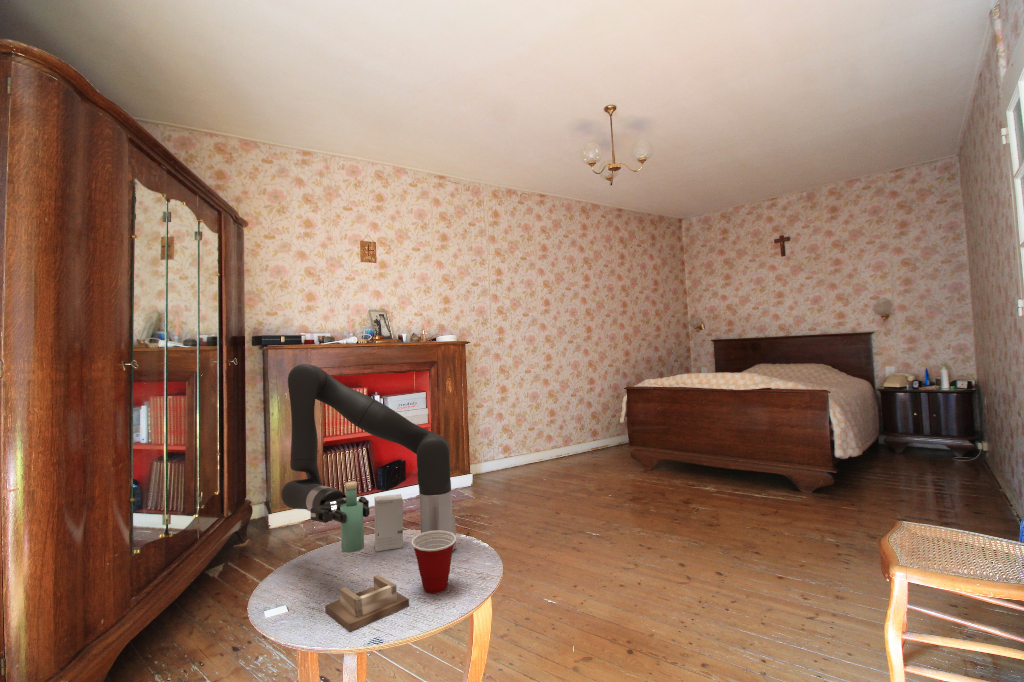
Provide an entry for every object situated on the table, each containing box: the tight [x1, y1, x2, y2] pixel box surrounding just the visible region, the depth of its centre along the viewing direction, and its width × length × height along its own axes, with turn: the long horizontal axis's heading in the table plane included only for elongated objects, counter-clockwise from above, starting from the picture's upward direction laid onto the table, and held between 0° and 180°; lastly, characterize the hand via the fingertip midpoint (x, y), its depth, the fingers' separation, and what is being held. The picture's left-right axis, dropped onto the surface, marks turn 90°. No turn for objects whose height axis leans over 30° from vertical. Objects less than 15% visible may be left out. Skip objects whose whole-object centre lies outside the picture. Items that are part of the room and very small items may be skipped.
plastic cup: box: [411, 530, 457, 594], centre depth 117 cm, size 11×11×12 cm
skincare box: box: [374, 494, 404, 553], centre depth 146 cm, size 8×6×15 cm
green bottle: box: [340, 480, 365, 554], centre depth 113 cm, size 5×5×15 cm
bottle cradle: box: [324, 574, 410, 632], centre depth 108 cm, size 14×12×5 cm
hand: (356, 515), depth 112 cm, fingers closed on green bottle, 5 cm apart
